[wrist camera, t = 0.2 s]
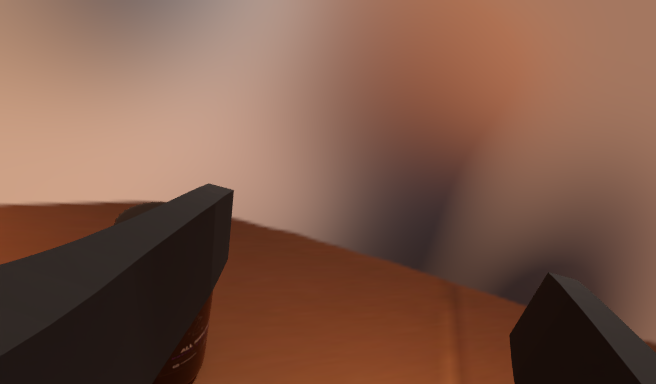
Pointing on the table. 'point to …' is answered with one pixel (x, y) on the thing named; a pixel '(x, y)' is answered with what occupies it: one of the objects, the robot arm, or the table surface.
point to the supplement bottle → (192, 345)
